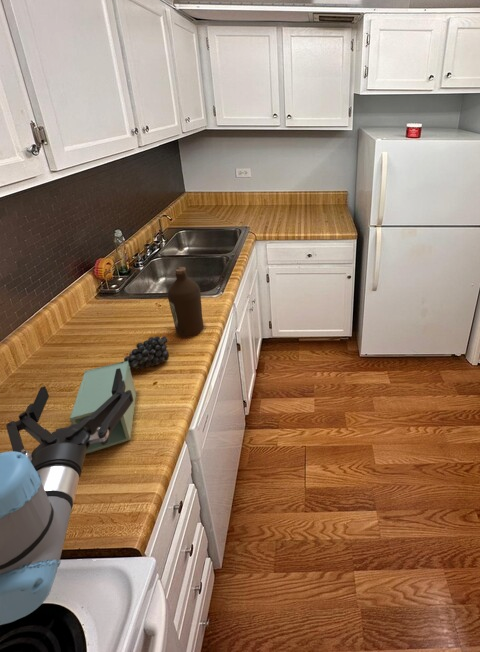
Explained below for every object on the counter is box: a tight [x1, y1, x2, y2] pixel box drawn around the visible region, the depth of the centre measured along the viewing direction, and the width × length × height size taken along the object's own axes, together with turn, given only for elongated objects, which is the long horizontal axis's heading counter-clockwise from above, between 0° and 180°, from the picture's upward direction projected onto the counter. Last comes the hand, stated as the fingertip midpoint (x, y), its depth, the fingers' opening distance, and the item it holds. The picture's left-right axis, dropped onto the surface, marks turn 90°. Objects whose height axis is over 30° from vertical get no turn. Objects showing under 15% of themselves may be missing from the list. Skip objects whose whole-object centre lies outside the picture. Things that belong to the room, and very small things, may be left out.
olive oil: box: [167, 266, 204, 338], centre depth 117 cm, size 11×11×25 cm
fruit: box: [123, 335, 171, 372], centre depth 104 cm, size 9×8×15 cm
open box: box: [69, 361, 137, 454], centre depth 84 cm, size 15×10×12 cm, turn 22°
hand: (83, 382), depth 71 cm, fingers open, 13 cm apart
